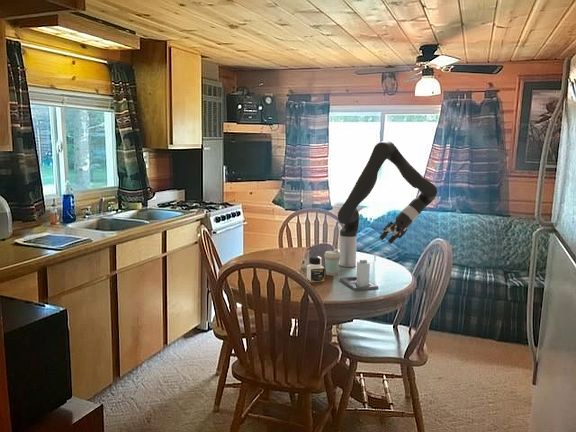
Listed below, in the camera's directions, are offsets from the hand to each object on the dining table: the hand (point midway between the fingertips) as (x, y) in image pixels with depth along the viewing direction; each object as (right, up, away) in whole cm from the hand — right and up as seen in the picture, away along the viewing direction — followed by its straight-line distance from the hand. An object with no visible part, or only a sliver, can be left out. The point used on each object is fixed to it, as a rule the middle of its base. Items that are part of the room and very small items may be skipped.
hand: (384, 240), depth 234 cm
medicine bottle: (-33, -20, +8) cm, 40 cm away
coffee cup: (-24, -19, +18) cm, 36 cm away
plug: (-12, -22, -5) cm, 25 cm away
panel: (-13, -22, 0) cm, 25 cm away
